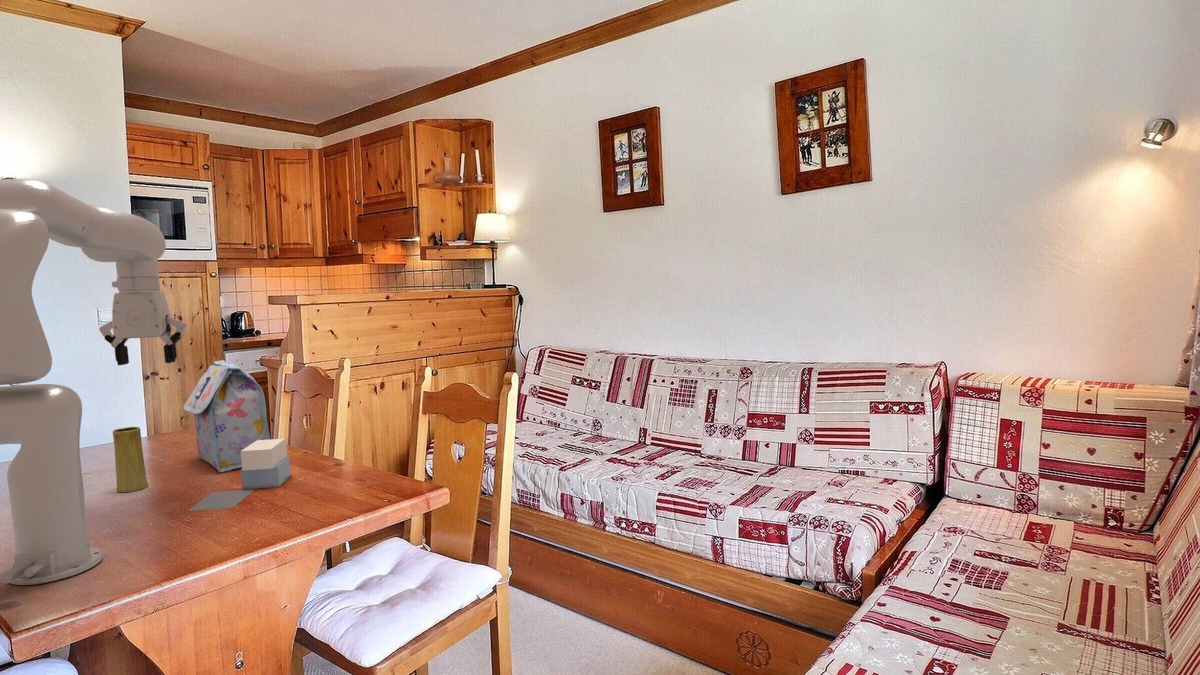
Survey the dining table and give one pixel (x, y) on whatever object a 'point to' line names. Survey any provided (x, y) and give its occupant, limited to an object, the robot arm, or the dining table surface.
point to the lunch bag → (227, 414)
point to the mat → (221, 500)
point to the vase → (129, 460)
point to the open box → (266, 476)
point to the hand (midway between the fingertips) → (147, 363)
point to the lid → (263, 454)
